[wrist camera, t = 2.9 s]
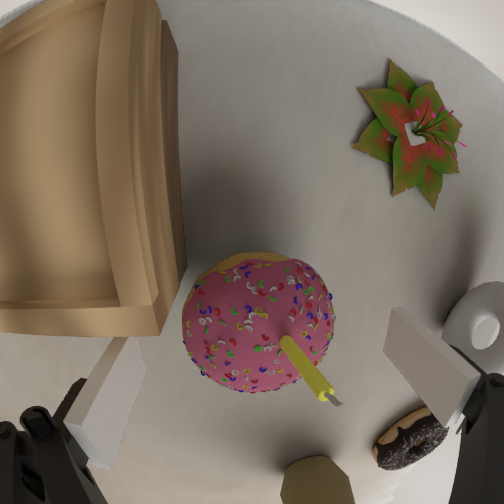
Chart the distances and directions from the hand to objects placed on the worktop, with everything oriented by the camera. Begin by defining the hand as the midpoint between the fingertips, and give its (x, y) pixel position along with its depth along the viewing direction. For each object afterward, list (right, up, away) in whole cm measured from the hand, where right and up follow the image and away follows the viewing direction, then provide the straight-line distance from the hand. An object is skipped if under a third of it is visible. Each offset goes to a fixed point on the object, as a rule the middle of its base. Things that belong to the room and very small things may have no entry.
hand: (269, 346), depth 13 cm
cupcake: (-1, +1, +7) cm, 7 cm away
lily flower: (+12, +14, +5) cm, 19 cm away
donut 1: (+20, -19, +14) cm, 31 cm away
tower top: (-13, +9, -1) cm, 16 cm away
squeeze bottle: (+6, -21, +13) cm, 26 cm away
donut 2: (+19, -1, +9) cm, 21 cm away
